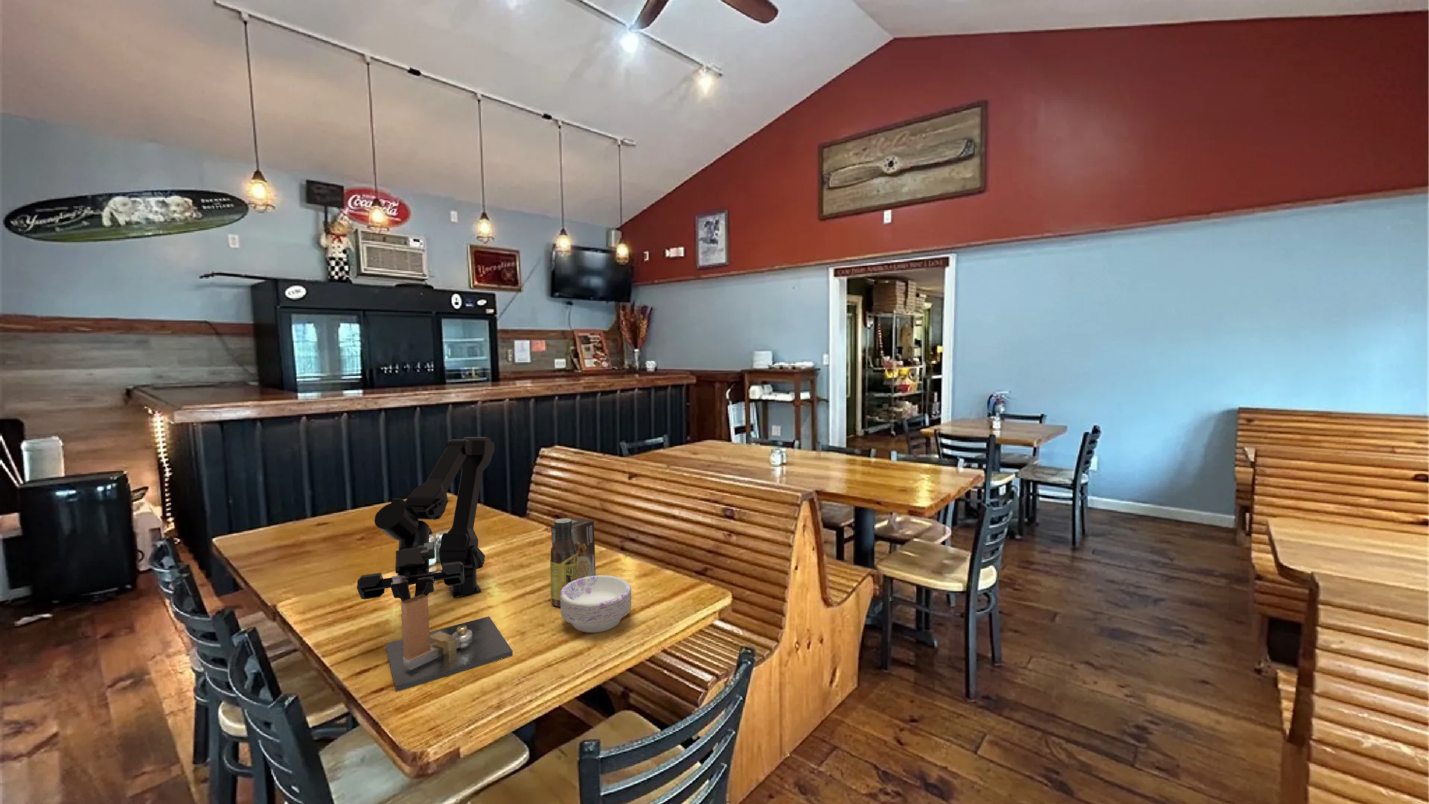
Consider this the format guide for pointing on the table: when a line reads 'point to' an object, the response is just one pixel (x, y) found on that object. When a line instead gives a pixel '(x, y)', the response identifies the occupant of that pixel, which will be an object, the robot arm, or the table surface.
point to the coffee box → (582, 545)
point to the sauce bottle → (562, 559)
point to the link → (422, 633)
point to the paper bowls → (595, 602)
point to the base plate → (479, 652)
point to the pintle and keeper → (448, 643)
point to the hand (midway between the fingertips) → (412, 621)
